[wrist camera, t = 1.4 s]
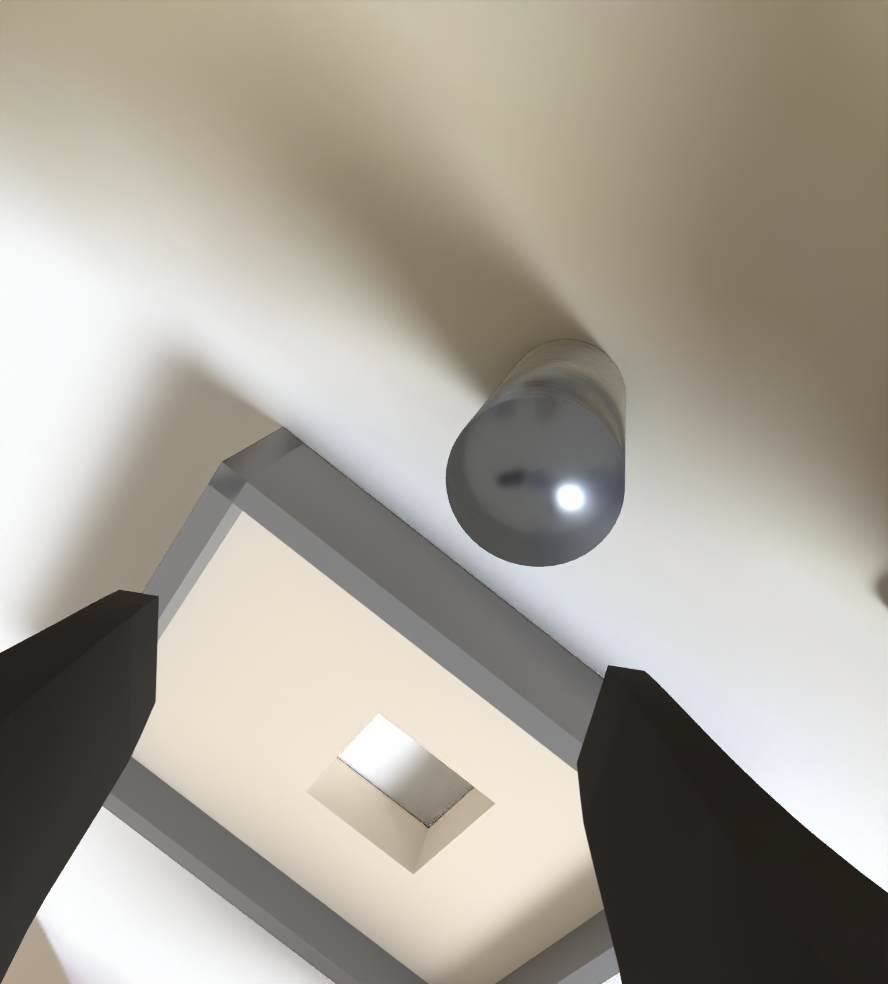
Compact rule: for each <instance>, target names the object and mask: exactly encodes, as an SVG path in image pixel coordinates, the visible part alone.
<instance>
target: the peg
mask: <svg viewBox="0 0 888 984" xmlns="http://www.w3.org/2000/svg"><path fill="white" fill-rule="evenodd" d="M625 422H626V392H625V385H624V382H623V378H622V376H621V374H620V371H619V370H618V368H617V366H616V365H615V363H614V362H613V361H612V360H611V358H610V357H608V356H607V355H606V354H605V353H604V352H603V351H601V350H600V349H598V348H597V347H595V346H593V345H591V344H588V343H585V342H582V341H578V340H569V339H564V340H555V341H550V342H547V343H544V344H542V345H540V346H538V347H536V348H534V349H533V350H531V351H530V352H528V353H527V354H526V355H525V356H524V357H523V358H522V359H521V360H520V361H519V362H518V363H517V365H516V366H515V367H514V368H513V370H512V371H511V372H510V373H509V374H508V376H507V377H506V378H505V379H504V380H503V382H502V383H501V384H500V385H499V387H498V388H497V389H496V390H495V391H494V393H493V394H492V395H491V396H490V398H489V399H488V400H487V401H486V402H485V404H484V405H483V406H482V407H481V409H480V410H479V411H478V412H477V413H476V415H475V416H474V417H473V418H472V419H471V421H470V422H469V423H468V424H467V426H466V427H465V428H464V429H463V430H462V432H461V433H460V435H459V436H458V438H457V439H456V441H455V443H454V445H453V447H452V450H451V453H450V456H449V459H448V464H447V469H446V488H447V494H448V499H449V503H450V505H451V508H452V511H453V513H454V515H455V517H456V519H457V521H458V522H459V524H460V525H461V527H462V528H463V530H464V531H465V532H466V533H467V534H468V536H469V537H470V538H471V539H472V540H473V541H474V542H476V543H477V544H478V545H479V546H480V547H482V548H483V549H484V550H486V551H487V552H489V553H491V554H493V555H494V556H496V557H498V558H501V559H503V560H506V561H508V562H511V563H515V564H519V565H525V566H537V567H544V566H554V565H558V564H563V563H566V562H569V561H572V560H575V559H577V558H579V557H581V556H583V555H585V554H586V553H588V552H589V551H591V550H592V549H594V548H595V547H596V546H597V545H598V544H599V543H600V542H602V541H603V539H604V538H605V537H606V536H607V535H608V534H609V532H610V531H611V529H612V528H613V526H614V525H615V523H616V521H617V518H618V516H619V514H620V511H621V508H622V504H623V499H624V492H625Z"/></svg>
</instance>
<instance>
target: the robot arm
mask: <svg viewBox="0 0 888 984" xmlns="http://www.w3.org/2000/svg"><path fill="white" fill-rule="evenodd" d="M158 611H159V596H156V595H149V594H143V593H136V592H130V591H123V590H118V591H116V592H114V593H112V594H110V595H108V596H106V597H104V598H102V599H100V600H98V601H96V602H94V603H92V604H91V605H89V606H87V607H85V608H83V609H81V610H80V611H78V612H76V613H74V614H72V615H70V616H69V617H67V618H65V619H63V620H61V621H59V622H58V623H56V624H54V625H52V626H50V627H48V628H46V629H45V630H43V631H41V632H39V633H37V634H35V635H33V636H31V637H29V638H28V639H26V640H24V641H22V642H20V643H18V644H16V645H14V646H13V647H11V648H9V649H7V650H5V651H3V652H1V653H0V984H1V982H2V980H3V978H4V976H5V974H6V972H7V970H8V968H9V966H10V964H11V962H12V960H13V958H14V956H15V954H16V952H17V950H18V948H19V946H20V944H21V942H22V940H23V938H24V936H25V934H26V932H27V930H28V928H29V926H30V924H31V923H32V921H33V919H34V917H35V916H36V914H37V912H38V910H39V908H40V907H41V905H42V903H43V901H44V900H45V898H46V896H47V895H48V893H49V891H50V890H51V888H52V886H53V885H54V883H55V882H56V880H57V878H58V877H59V875H60V873H61V872H62V870H63V869H64V867H65V865H66V864H67V862H68V860H69V859H70V857H71V856H72V854H73V852H74V851H75V849H76V847H77V846H78V844H79V843H80V841H81V839H82V838H83V836H84V834H85V833H86V831H87V830H88V828H89V826H90V825H91V823H92V821H93V820H94V818H95V817H96V815H97V813H98V812H99V810H100V808H101V807H102V805H103V804H104V802H105V800H106V799H107V797H108V795H109V794H110V792H111V790H112V789H113V787H114V785H115V784H116V782H117V780H118V779H119V777H120V775H121V774H122V772H123V770H124V769H125V767H126V765H127V764H128V762H129V760H130V758H131V756H132V754H133V752H134V750H135V747H136V745H137V743H138V741H139V739H140V737H141V734H142V732H143V730H144V728H145V725H146V723H147V721H148V718H149V716H150V714H151V712H152V709H153V707H154V705H155V702H156V675H157V643H158ZM577 771H578V781H579V791H580V800H581V808H582V816H583V824H584V828H585V832H586V837H587V841H588V845H589V849H590V854H591V858H592V862H593V866H594V870H595V874H596V878H597V882H598V886H599V890H600V894H601V898H602V902H603V907H604V911H605V915H606V919H607V923H608V927H609V931H610V935H611V939H612V943H613V947H614V951H615V955H616V959H617V963H618V967H619V971H620V976H621V981H622V984H888V893H887V892H886V891H885V890H883V889H882V888H881V887H879V886H878V885H877V884H875V883H874V882H873V881H871V880H870V879H869V878H867V877H866V876H865V875H863V874H862V873H861V872H860V871H858V870H857V869H856V868H855V867H853V866H852V865H851V864H850V863H848V862H847V861H846V860H845V859H843V858H842V857H841V856H840V855H838V854H837V853H836V852H835V851H834V850H832V849H831V848H830V847H829V846H827V845H826V844H825V843H824V842H822V841H821V840H820V839H819V838H817V837H816V836H815V835H814V834H813V833H811V832H810V831H809V830H808V829H807V828H806V827H804V826H803V825H802V824H801V823H800V822H799V821H797V820H796V819H795V818H794V817H793V816H792V815H791V814H790V813H788V812H787V811H786V810H785V809H784V808H783V807H782V806H781V805H780V804H779V803H778V802H776V801H775V800H774V799H773V798H772V797H771V796H770V795H769V794H768V793H767V792H766V791H764V790H763V789H762V788H761V787H760V786H759V785H758V784H757V783H756V782H755V781H754V780H753V779H752V778H751V777H750V776H749V775H748V774H747V773H745V772H744V771H743V770H742V769H741V768H740V767H739V766H738V765H737V764H736V763H735V762H734V761H733V760H732V759H731V758H730V757H729V756H728V755H727V754H726V753H725V752H724V751H723V750H722V749H721V748H720V747H719V746H718V745H717V744H716V743H715V742H714V741H713V740H712V739H711V738H710V737H709V736H708V735H707V733H706V732H705V731H704V730H703V729H702V728H701V727H700V726H699V725H698V724H697V723H696V722H695V721H694V720H693V719H692V718H691V717H690V716H689V715H688V714H687V713H686V712H685V711H684V710H683V709H682V708H681V707H680V705H679V704H678V703H677V702H676V701H675V700H674V699H673V698H672V697H671V696H670V695H669V694H668V693H667V692H666V691H665V690H664V689H663V688H662V687H661V686H660V685H659V684H658V683H657V682H656V681H655V680H654V679H653V678H652V677H651V676H650V675H649V674H647V673H646V672H645V671H642V670H635V669H629V668H622V667H616V666H609V665H608V667H607V670H606V673H605V677H604V680H603V683H602V686H601V689H600V692H599V695H598V698H597V701H596V704H595V708H594V711H593V714H592V717H591V720H590V723H589V726H588V729H587V732H586V735H585V739H584V742H583V745H582V748H581V751H580V754H579V757H578V760H577Z"/></svg>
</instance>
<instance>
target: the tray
mask: <svg viewBox="0 0 888 984" xmlns="http://www.w3.org/2000/svg"><path fill="white" fill-rule="evenodd" d="M143 594H149V595H156V596H159V611H158V643H157V675H156V702H155V705H154V707H153V709H152V712H151V714H150V716H149V718H148V721H147V723H146V725H145V728H144V730H143V732H142V734H141V737H140V739H139V741H138V743H137V745H136V747H135V750H134V752H133V754H132V756H131V758H130V760H129V762H128V764H127V765H126V767H125V769H124V770H123V772H122V774H121V775H120V777H119V779H118V780H117V782H116V784H115V785H114V787H113V789H112V790H111V792H110V794H109V795H108V797H107V799H106V800H105V802H104V804H103V805H102V806H103V807H105V808H106V809H107V810H109V811H110V812H111V813H113V814H114V815H115V816H117V817H118V818H119V819H120V820H122V821H123V822H124V823H126V824H127V825H128V826H130V827H131V828H132V829H134V830H135V831H136V832H138V833H139V834H140V835H141V836H143V837H144V838H145V839H147V840H148V841H149V842H151V843H152V844H153V845H155V846H156V847H157V848H159V849H160V850H161V851H163V852H164V853H165V854H166V855H168V856H169V857H170V858H172V859H173V860H174V861H176V862H177V863H178V864H180V865H181V866H182V867H184V868H185V869H186V870H187V871H189V872H190V873H191V874H193V875H194V876H195V877H197V878H198V879H199V880H201V881H202V882H203V883H205V884H206V885H207V886H208V887H210V888H211V889H212V890H214V891H215V892H216V893H218V894H219V895H220V896H222V897H223V898H224V899H226V900H227V901H228V902H229V903H231V904H232V905H233V906H235V907H236V908H237V909H239V910H240V911H241V912H243V913H244V914H245V915H247V916H248V917H249V918H250V919H252V920H253V921H254V922H256V923H257V924H258V925H260V926H261V927H262V928H264V929H265V930H266V931H268V932H269V933H270V934H272V935H273V936H274V937H275V938H277V939H278V940H279V941H281V942H282V943H283V944H285V945H286V946H287V947H289V948H290V949H291V950H293V951H294V952H295V953H296V954H298V955H299V956H300V957H302V958H303V959H304V960H306V961H307V962H308V963H310V964H311V965H312V966H314V967H315V968H316V969H317V970H319V971H320V972H321V973H323V974H324V975H325V976H327V977H328V978H329V979H331V980H332V981H333V982H335V983H336V984H602V983H603V982H605V981H606V980H608V979H610V978H611V977H613V976H614V975H616V974H618V973H619V972H620V971H619V967H618V963H617V959H616V955H615V951H614V947H613V943H612V939H611V935H610V931H609V927H608V923H607V919H606V915H605V911H604V907H603V902H602V898H601V894H600V890H599V886H598V882H597V878H596V874H595V870H594V866H593V862H592V858H591V854H590V849H589V845H588V841H587V837H586V832H585V828H584V824H583V816H582V808H581V800H580V791H579V781H578V771H577V760H578V757H579V754H580V751H581V748H582V745H583V742H584V739H585V735H586V732H587V729H588V726H589V723H590V720H591V717H592V714H593V711H594V708H595V704H596V701H597V698H598V695H599V692H600V689H601V686H602V683H603V680H604V679H603V678H601V677H600V676H599V675H598V674H596V673H595V672H594V671H592V670H591V669H590V668H589V667H587V666H586V665H585V664H584V663H582V662H581V661H580V660H578V659H577V658H576V657H575V656H573V655H572V654H571V653H570V652H568V651H567V650H566V649H564V648H563V647H562V646H561V645H559V644H558V643H557V642H556V641H554V640H553V639H552V638H550V637H549V636H548V635H547V634H545V633H544V632H543V631H542V630H540V629H539V628H538V627H537V626H535V625H534V624H533V623H531V622H530V621H529V620H528V619H526V618H525V617H524V616H523V615H521V614H520V613H519V612H517V611H516V610H515V609H514V608H512V607H511V606H510V605H509V604H507V603H506V602H505V601H503V600H502V599H501V598H500V597H498V596H497V595H496V594H495V593H493V592H492V591H491V590H489V589H488V588H487V587H486V586H484V585H483V584H482V583H481V582H479V581H478V580H477V579H475V578H474V577H473V576H472V575H470V574H469V573H468V572H467V571H465V570H464V569H463V568H461V567H460V566H459V565H458V564H456V563H455V562H454V561H453V560H451V559H450V558H449V557H447V556H446V555H445V554H444V553H442V552H441V551H440V550H439V549H437V548H436V547H435V546H434V545H432V544H431V543H430V542H428V541H427V540H426V539H425V538H423V537H422V536H421V535H420V534H418V533H417V532H416V531H414V530H413V529H412V528H411V527H409V526H408V525H407V524H406V523H404V522H403V521H402V520H400V519H399V518H398V517H397V516H395V515H394V514H393V513H392V512H390V511H389V510H388V509H386V508H385V507H384V506H383V505H381V504H380V503H379V502H378V501H376V500H375V499H374V498H372V497H371V496H370V495H369V494H367V493H366V492H365V491H364V490H362V489H361V488H360V487H358V486H357V485H356V484H355V483H353V482H352V481H351V480H350V479H348V478H347V477H346V476H344V475H343V474H342V473H341V472H339V471H338V470H337V469H336V468H334V467H333V466H332V465H331V464H329V463H328V462H327V461H325V460H324V459H323V458H322V457H320V456H319V455H318V454H317V453H315V452H314V451H313V450H311V449H310V448H309V447H308V446H306V445H305V444H304V443H303V442H301V441H300V440H299V439H297V438H296V437H295V436H294V435H292V434H291V433H290V432H289V431H287V430H286V429H285V428H283V427H282V428H280V429H279V430H277V431H275V432H273V433H272V434H270V435H268V436H266V437H265V438H263V439H261V440H259V441H258V442H256V443H254V444H252V445H251V446H249V447H247V448H245V449H244V450H242V451H240V452H239V453H237V454H235V455H233V456H232V457H230V458H228V459H226V460H225V461H223V462H222V463H221V464H220V466H219V468H218V469H217V471H216V473H215V474H214V476H213V478H212V479H211V481H210V483H209V484H208V486H207V487H206V489H205V491H204V492H203V494H202V496H201V497H200V499H199V501H198V502H197V504H196V506H195V507H194V509H193V511H192V512H191V514H190V515H189V517H188V519H187V520H186V522H185V524H184V525H183V527H182V529H181V530H180V532H179V534H178V535H177V537H176V539H175V540H174V542H173V543H172V545H171V547H170V548H169V550H168V552H167V553H166V555H165V557H164V558H163V560H162V562H161V563H160V565H159V567H158V568H157V570H156V571H155V573H154V575H153V576H152V578H151V580H150V581H149V583H148V585H147V586H146V588H145V590H144V591H143ZM378 713H380V714H381V715H382V716H383V717H385V718H386V719H387V720H389V721H390V722H391V723H393V724H394V725H395V726H396V727H398V728H399V729H400V730H402V731H403V732H404V733H405V734H407V735H408V736H409V737H411V738H412V739H413V740H414V741H416V742H417V743H418V744H420V745H421V746H422V747H423V748H425V749H426V750H427V751H429V752H430V753H431V754H432V755H434V756H435V757H436V758H438V759H439V760H440V761H441V762H443V763H444V764H445V765H447V766H448V767H449V768H450V769H452V770H453V771H454V772H456V773H457V774H458V775H460V776H461V777H462V778H463V779H465V780H466V781H467V782H469V783H470V784H471V785H472V786H474V788H473V789H472V790H471V791H470V792H469V793H467V794H466V795H465V796H464V797H463V798H462V799H461V800H460V801H459V802H457V803H456V804H455V805H454V806H453V807H452V808H451V809H450V810H449V811H447V812H446V813H445V814H444V815H443V816H442V817H441V818H440V819H439V820H437V821H436V822H435V823H434V824H433V825H432V826H431V827H430V828H428V827H426V826H425V825H424V824H422V823H421V822H420V821H419V820H417V819H416V818H415V817H413V816H412V815H411V814H409V813H408V812H407V811H406V810H404V809H403V808H402V807H400V806H399V805H398V804H397V803H395V802H394V801H393V800H391V799H390V798H389V797H387V796H386V795H385V794H384V793H382V792H381V791H380V790H378V789H377V788H376V787H375V786H373V785H372V784H371V783H369V782H368V781H367V780H365V779H364V778H363V777H362V776H360V775H359V774H358V773H356V772H355V771H354V770H353V769H351V768H350V767H349V766H347V765H346V764H345V763H343V762H342V761H341V760H340V759H338V758H337V757H338V756H339V755H340V754H341V753H342V752H343V751H344V750H345V749H346V748H347V746H348V745H349V744H350V743H351V742H352V741H353V740H354V739H355V738H356V737H357V736H358V735H359V734H360V732H361V731H362V730H363V729H364V728H365V727H366V726H367V725H368V724H369V723H370V722H371V721H372V720H373V718H374V717H375V716H376V715H377V714H378Z"/></svg>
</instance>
